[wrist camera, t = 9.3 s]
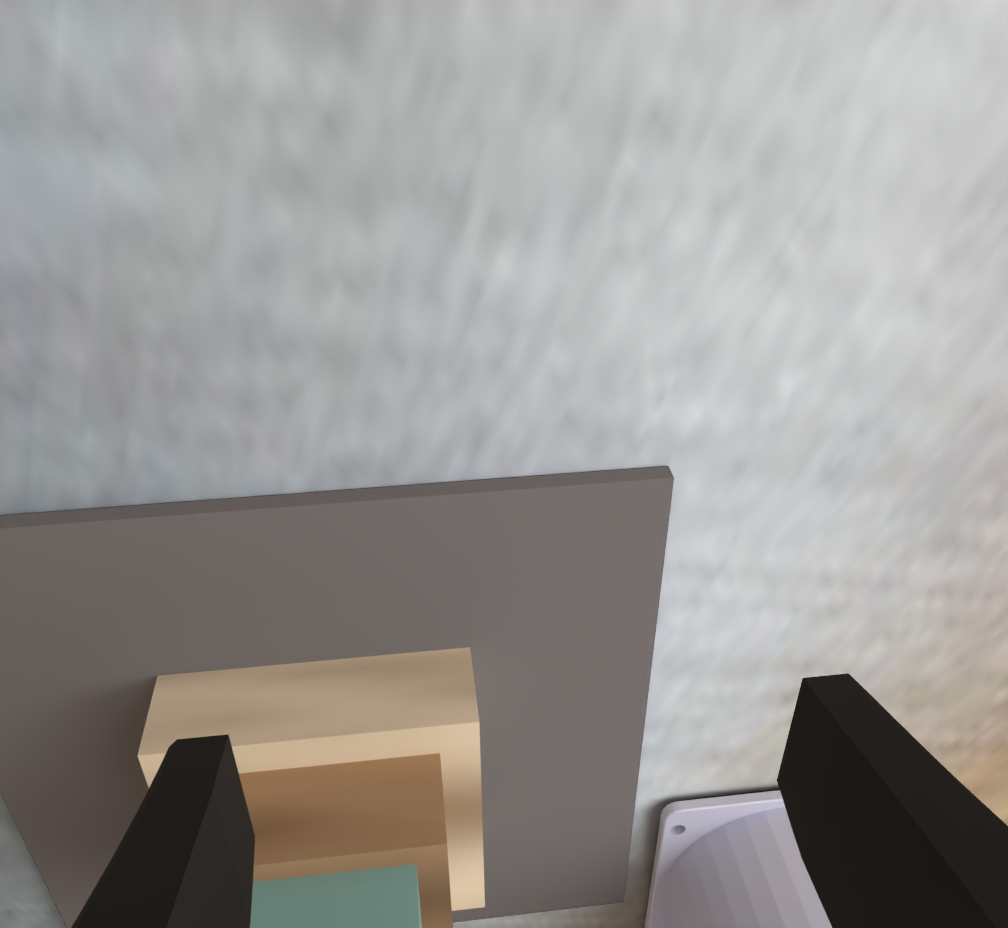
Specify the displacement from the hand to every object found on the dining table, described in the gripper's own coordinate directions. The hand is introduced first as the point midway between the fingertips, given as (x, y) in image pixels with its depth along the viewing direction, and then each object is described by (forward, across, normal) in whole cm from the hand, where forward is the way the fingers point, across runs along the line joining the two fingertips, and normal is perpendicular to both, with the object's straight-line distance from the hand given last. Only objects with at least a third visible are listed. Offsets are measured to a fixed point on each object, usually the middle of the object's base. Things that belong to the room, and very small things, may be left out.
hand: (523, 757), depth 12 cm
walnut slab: (+7, +4, +12) cm, 15 cm away
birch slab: (+10, +4, +12) cm, 16 cm away
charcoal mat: (+10, +4, +12) cm, 16 cm away
